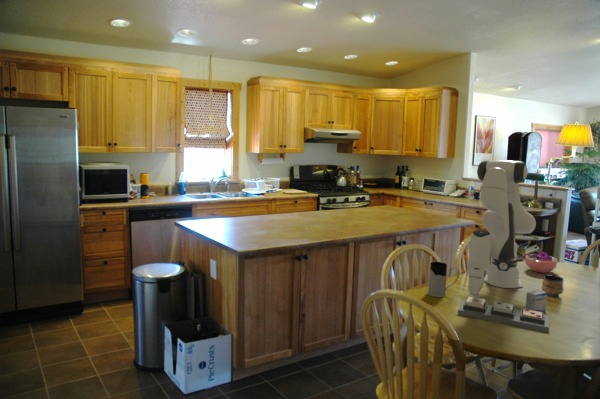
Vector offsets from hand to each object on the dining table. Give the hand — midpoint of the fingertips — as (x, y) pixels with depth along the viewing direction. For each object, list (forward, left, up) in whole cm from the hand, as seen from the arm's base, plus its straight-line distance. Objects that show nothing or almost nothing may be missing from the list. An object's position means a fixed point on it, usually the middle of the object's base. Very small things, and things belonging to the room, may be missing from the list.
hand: (475, 299), depth 193 cm
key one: (0, 0, -3) cm, 3 cm away
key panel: (0, +11, -6) cm, 12 cm away
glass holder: (-16, -17, -6) cm, 24 cm away
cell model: (-89, +24, -6) cm, 93 cm away
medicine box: (-16, +23, -6) cm, 29 cm away
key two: (0, +11, -3) cm, 11 cm away
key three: (0, +22, -4) cm, 22 cm away
